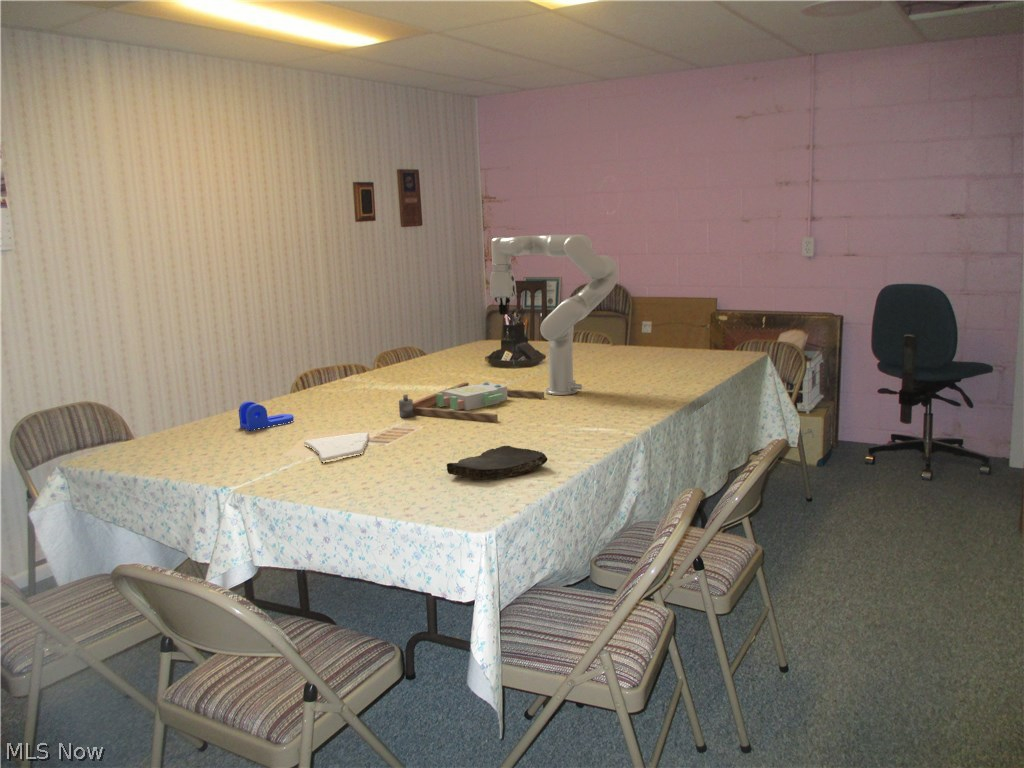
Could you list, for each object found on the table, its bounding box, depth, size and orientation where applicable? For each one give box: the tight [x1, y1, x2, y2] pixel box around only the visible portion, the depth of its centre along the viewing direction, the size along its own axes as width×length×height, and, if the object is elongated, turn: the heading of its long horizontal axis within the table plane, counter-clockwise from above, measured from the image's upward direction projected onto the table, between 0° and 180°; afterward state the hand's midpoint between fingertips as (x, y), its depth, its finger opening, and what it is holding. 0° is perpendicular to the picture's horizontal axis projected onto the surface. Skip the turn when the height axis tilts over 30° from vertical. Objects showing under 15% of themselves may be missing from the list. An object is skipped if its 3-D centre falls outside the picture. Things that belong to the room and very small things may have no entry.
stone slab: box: [446, 445, 548, 480], centre depth 231 cm, size 26×7×20 cm
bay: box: [398, 382, 545, 423], centre depth 309 cm, size 38×46×8 cm
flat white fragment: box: [304, 432, 370, 462], centre depth 260 cm, size 21×4×25 cm
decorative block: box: [436, 381, 508, 411], centre depth 316 cm, size 26×6×20 cm
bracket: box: [238, 400, 295, 431], centre depth 295 cm, size 18×8×9 cm, turn 130°
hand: (503, 314), depth 333 cm, fingers closed
